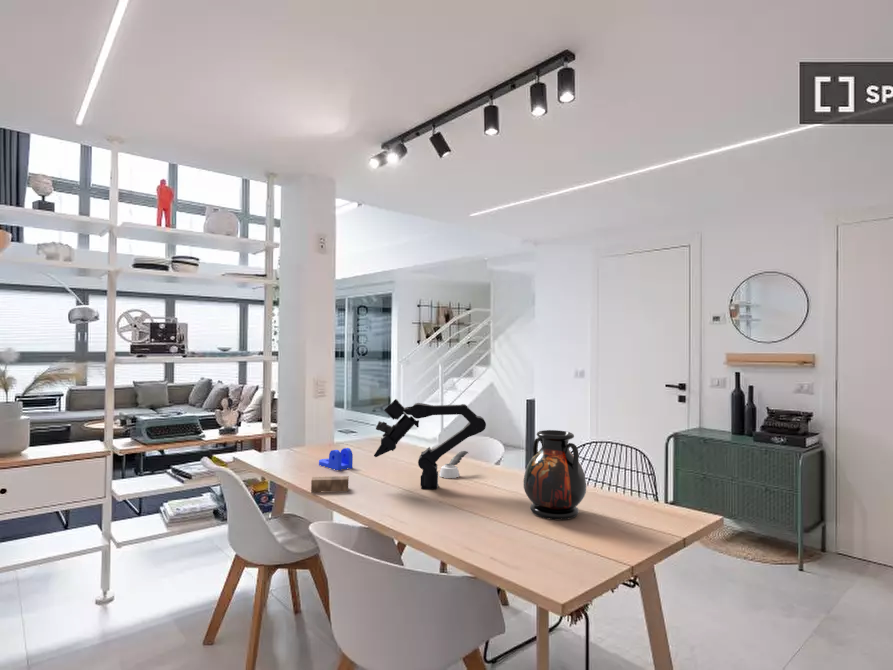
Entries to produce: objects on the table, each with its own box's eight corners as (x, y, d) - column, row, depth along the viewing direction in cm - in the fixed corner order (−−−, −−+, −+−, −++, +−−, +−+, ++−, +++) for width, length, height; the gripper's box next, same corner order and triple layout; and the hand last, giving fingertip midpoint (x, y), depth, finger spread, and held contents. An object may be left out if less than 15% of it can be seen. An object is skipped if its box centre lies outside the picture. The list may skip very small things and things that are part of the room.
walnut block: (348, 476, 209) (312, 476, 207) (348, 479, 204) (311, 480, 202) (348, 488, 209) (312, 489, 207) (347, 492, 204) (311, 493, 202)
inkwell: (434, 476, 231) (434, 453, 231) (459, 469, 244) (460, 447, 245) (450, 479, 225) (451, 456, 225) (475, 472, 239) (475, 450, 239)
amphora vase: (510, 511, 183) (511, 431, 184) (549, 500, 197) (550, 426, 197) (559, 528, 166) (561, 440, 167) (598, 515, 180) (599, 434, 181)
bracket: (352, 468, 243) (352, 449, 243) (337, 471, 237) (337, 451, 237) (330, 462, 255) (330, 443, 256) (315, 464, 249) (315, 445, 249)
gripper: (387, 412, 221) (361, 439, 220) (386, 415, 203) (358, 445, 201) (406, 430, 222) (380, 458, 220) (407, 435, 203) (379, 465, 201)
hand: (374, 456), depth 210 cm, fingers closed
